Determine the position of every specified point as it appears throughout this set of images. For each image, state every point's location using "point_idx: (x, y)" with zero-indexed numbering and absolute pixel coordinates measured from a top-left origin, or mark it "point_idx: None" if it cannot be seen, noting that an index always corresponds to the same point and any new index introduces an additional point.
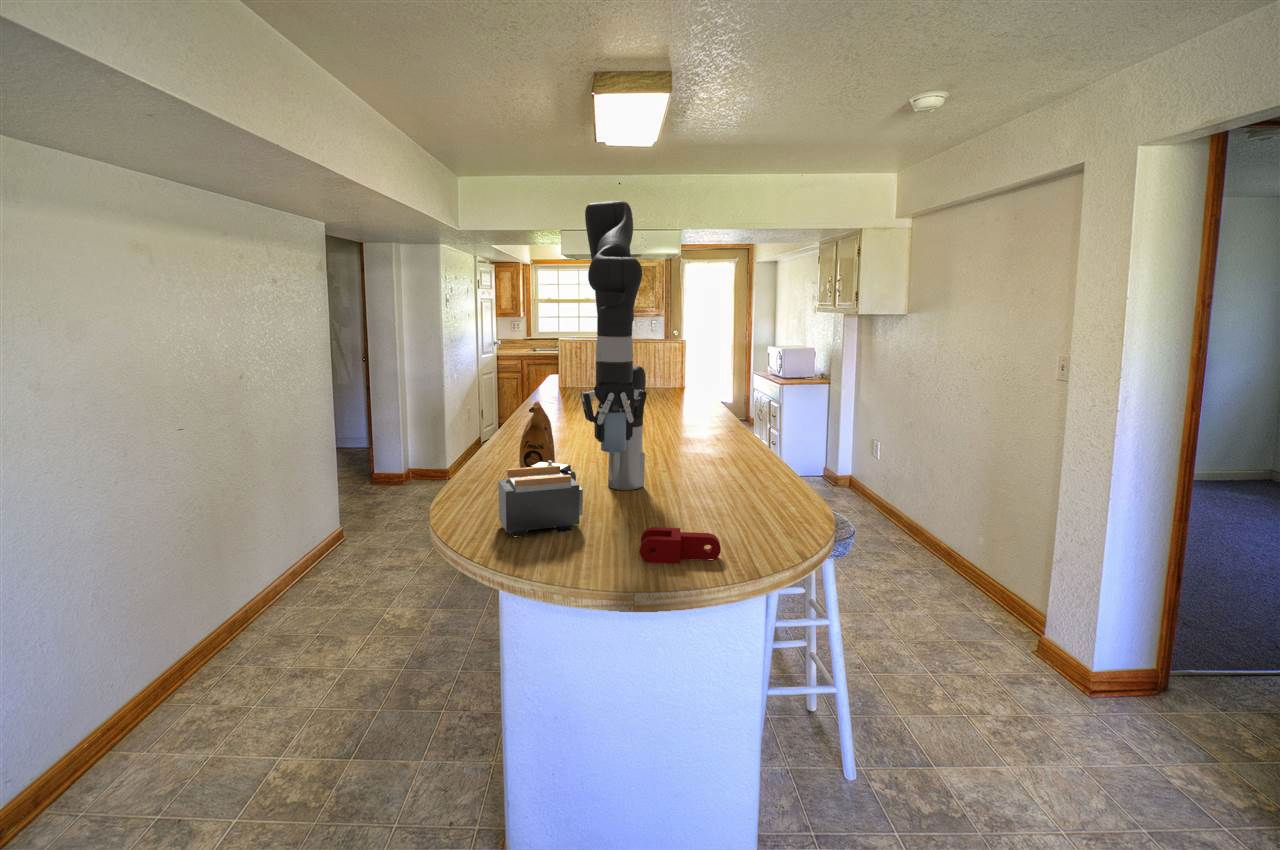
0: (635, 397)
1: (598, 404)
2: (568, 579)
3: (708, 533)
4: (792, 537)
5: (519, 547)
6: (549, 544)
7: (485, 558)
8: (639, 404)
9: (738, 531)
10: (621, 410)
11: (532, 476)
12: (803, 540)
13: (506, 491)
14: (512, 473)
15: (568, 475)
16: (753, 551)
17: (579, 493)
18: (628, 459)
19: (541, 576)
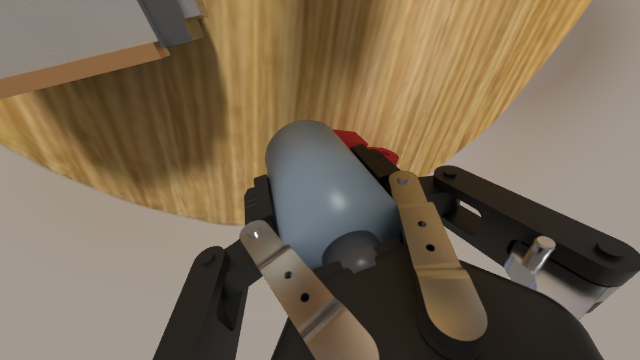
0: (512, 279)
1: (273, 291)
2: (221, 210)
3: (392, 161)
4: (490, 94)
5: (110, 117)
6: (164, 105)
7: (69, 162)
8: (487, 253)
9: (451, 66)
10: (396, 220)
11: None
12: (492, 105)
13: None
14: None
15: (149, 48)
16: (427, 136)
17: (193, 17)
18: None
19: (186, 207)
